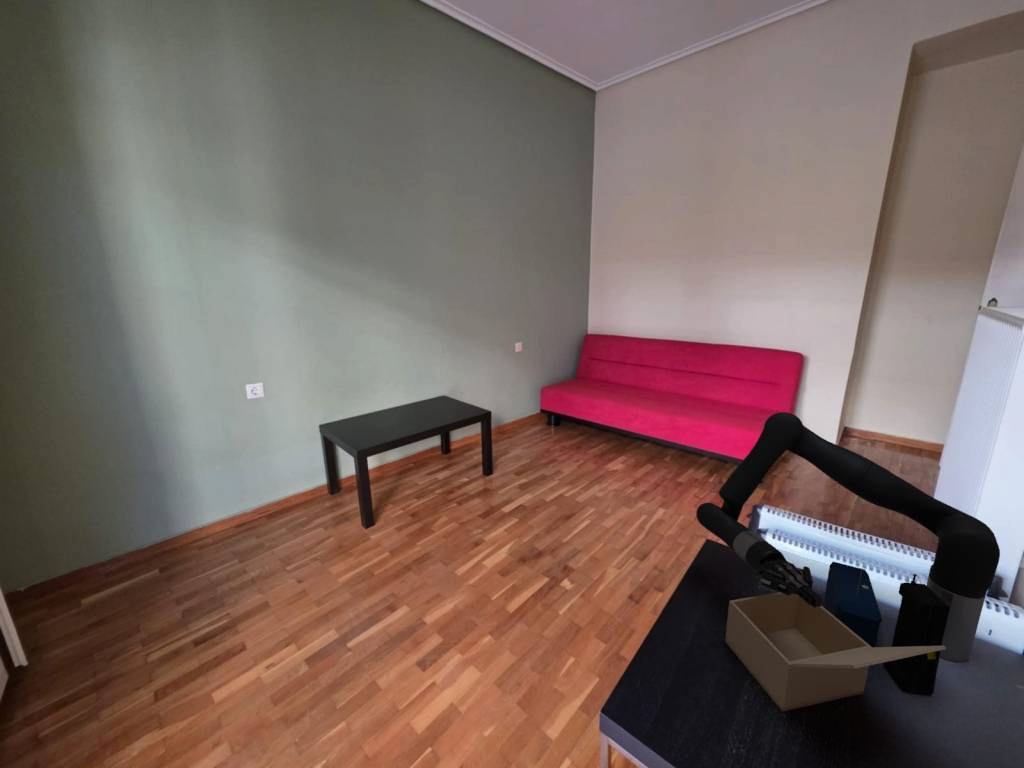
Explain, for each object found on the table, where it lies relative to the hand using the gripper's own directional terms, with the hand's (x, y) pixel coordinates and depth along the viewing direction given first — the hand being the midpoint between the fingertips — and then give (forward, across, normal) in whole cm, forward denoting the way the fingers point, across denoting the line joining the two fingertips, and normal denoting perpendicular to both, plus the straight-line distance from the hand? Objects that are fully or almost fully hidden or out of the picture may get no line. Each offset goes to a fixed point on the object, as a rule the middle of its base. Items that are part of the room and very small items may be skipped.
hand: (818, 603), depth 88 cm
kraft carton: (-4, 0, +21) cm, 22 cm away
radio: (-12, +24, +21) cm, 34 cm away
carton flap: (+10, 0, +3) cm, 10 cm away
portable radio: (+4, +22, +21) cm, 31 cm away
